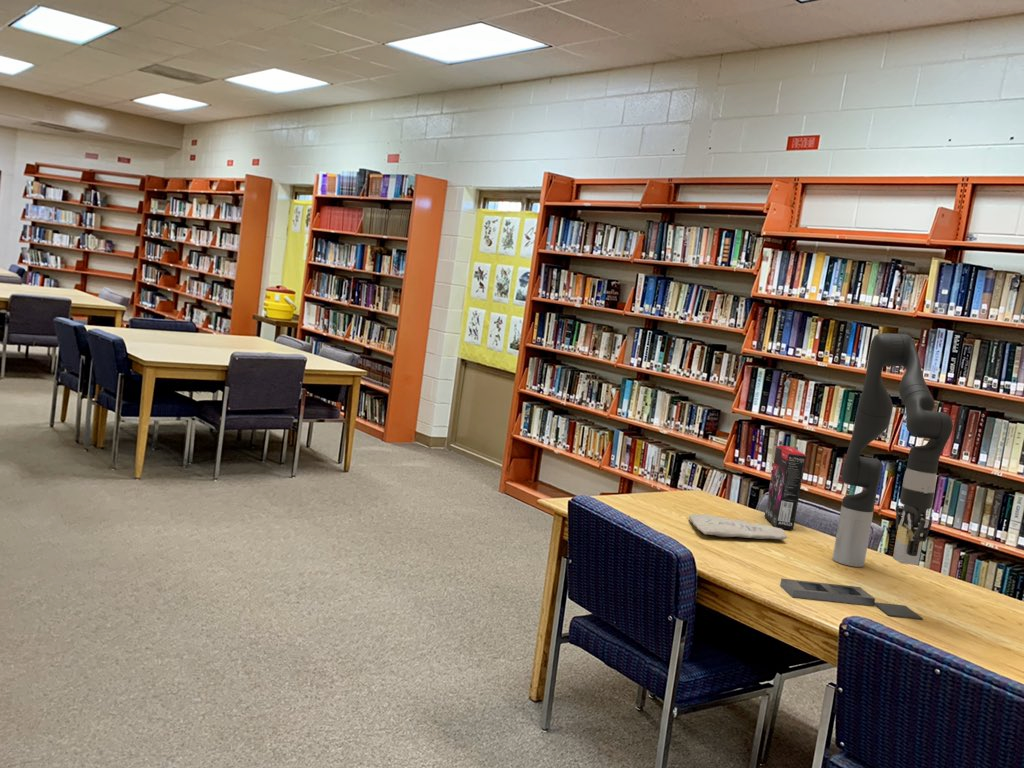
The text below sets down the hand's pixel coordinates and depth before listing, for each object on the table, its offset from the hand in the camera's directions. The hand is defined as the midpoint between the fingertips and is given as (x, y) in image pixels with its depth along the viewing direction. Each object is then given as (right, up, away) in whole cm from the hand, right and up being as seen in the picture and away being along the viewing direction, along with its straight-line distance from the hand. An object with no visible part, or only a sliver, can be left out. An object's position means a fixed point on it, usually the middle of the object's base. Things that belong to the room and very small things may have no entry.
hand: (907, 552), depth 222 cm
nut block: (0, -3, 0) cm, 3 cm away
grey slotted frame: (-18, -13, +8) cm, 24 cm away
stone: (-27, -7, +63) cm, 69 cm away
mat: (-2, -16, +2) cm, 16 cm away
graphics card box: (-7, -7, +86) cm, 87 cm away
